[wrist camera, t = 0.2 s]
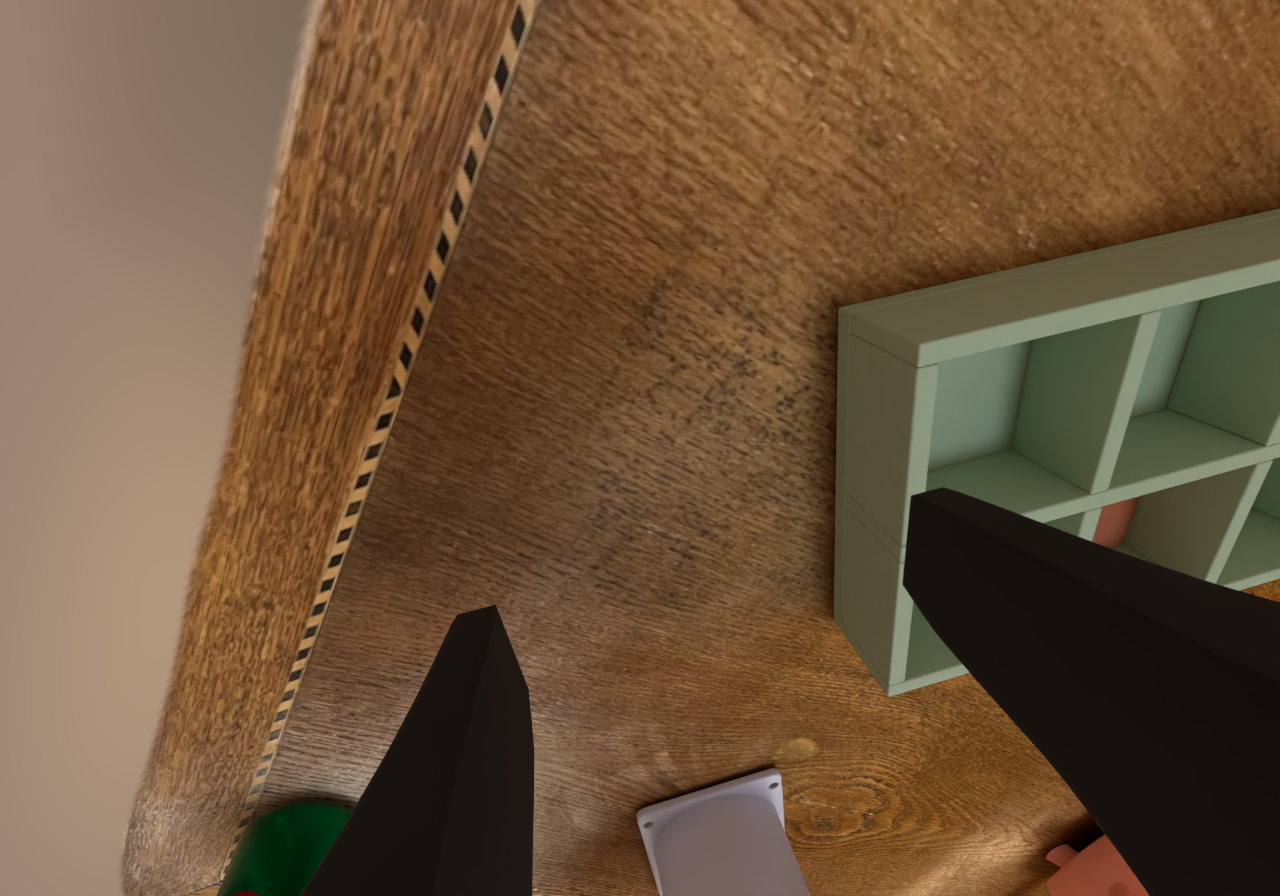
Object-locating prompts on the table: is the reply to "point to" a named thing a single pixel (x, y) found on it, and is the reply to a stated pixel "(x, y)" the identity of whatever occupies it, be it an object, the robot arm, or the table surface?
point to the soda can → (284, 848)
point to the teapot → (1092, 872)
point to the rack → (1064, 419)
